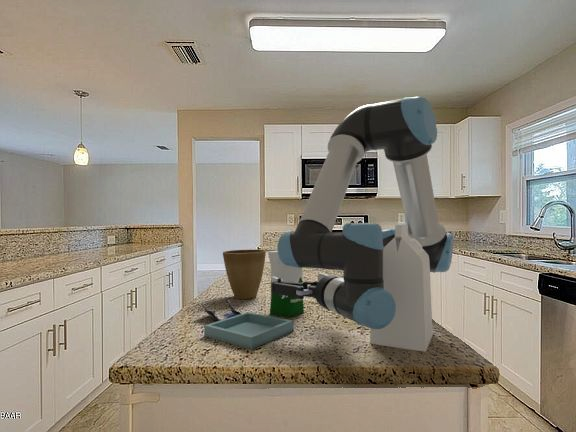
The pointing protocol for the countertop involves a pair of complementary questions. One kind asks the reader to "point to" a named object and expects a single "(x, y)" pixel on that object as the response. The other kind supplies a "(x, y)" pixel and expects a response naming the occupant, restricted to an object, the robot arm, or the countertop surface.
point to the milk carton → (283, 303)
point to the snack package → (225, 316)
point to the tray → (248, 329)
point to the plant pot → (244, 271)
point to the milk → (406, 294)
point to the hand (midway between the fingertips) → (296, 279)
